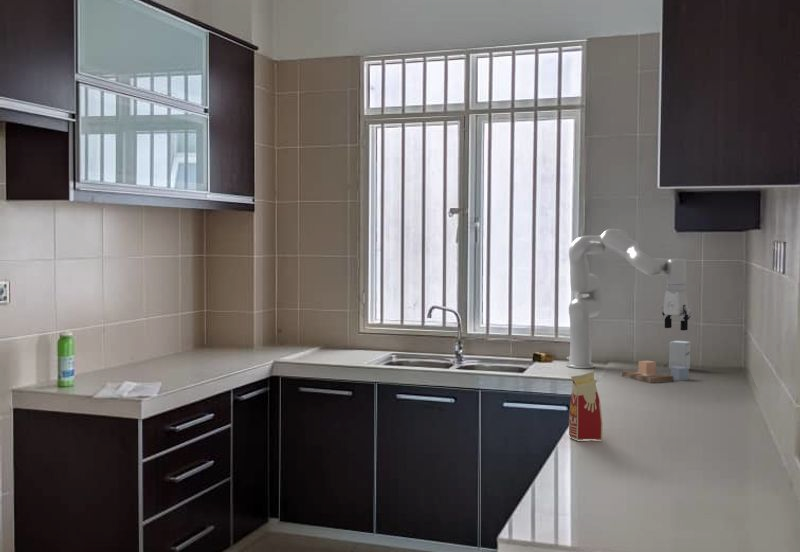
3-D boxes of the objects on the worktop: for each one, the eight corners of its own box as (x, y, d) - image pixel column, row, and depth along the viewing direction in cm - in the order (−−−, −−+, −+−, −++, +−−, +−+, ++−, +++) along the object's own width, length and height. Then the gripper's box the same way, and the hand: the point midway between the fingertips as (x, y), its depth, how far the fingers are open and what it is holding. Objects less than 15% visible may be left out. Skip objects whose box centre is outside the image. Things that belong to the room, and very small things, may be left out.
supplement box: (685, 371, 362) (685, 343, 362) (668, 369, 367) (669, 341, 366) (690, 369, 368) (691, 341, 368) (673, 367, 373) (674, 340, 372)
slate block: (670, 378, 343) (670, 366, 343) (680, 378, 345) (680, 366, 345) (678, 380, 339) (679, 368, 339) (688, 379, 341) (688, 368, 340)
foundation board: (621, 375, 349) (621, 370, 349) (644, 374, 353) (644, 369, 353) (650, 382, 332) (650, 377, 332) (673, 381, 337) (673, 376, 337)
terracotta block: (638, 372, 344) (638, 361, 344) (647, 372, 346) (647, 360, 346) (646, 374, 340) (646, 362, 339) (655, 374, 342) (656, 362, 341)
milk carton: (595, 434, 245) (596, 368, 244) (603, 442, 236) (605, 373, 235) (565, 434, 245) (566, 368, 244) (572, 442, 235) (573, 373, 234)
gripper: (655, 287, 347) (654, 327, 347) (683, 289, 331) (683, 331, 331) (669, 287, 350) (669, 326, 350) (698, 289, 334) (697, 330, 334)
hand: (675, 329), depth 341 cm, fingers open, 9 cm apart
